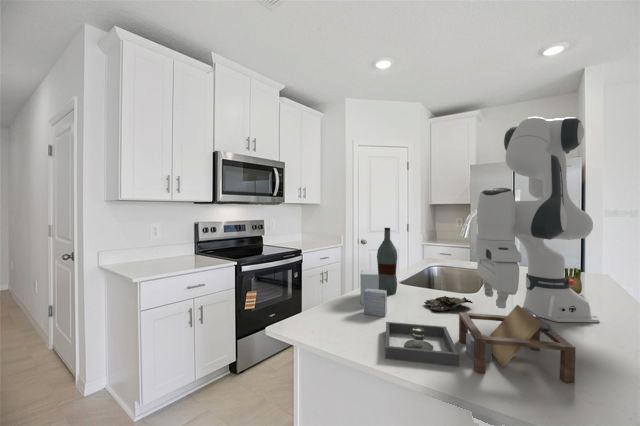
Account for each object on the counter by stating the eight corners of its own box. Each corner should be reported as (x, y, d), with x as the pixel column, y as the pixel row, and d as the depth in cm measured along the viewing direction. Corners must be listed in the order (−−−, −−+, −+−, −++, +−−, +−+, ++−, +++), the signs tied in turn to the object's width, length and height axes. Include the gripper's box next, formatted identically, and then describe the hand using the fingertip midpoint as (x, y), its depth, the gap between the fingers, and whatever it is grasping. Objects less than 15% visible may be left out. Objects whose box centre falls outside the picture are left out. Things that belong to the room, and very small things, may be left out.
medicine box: (386, 313, 114) (387, 290, 114) (385, 317, 110) (385, 293, 110) (365, 310, 117) (366, 288, 117) (363, 314, 113) (363, 291, 113)
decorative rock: (439, 305, 112) (414, 291, 126) (439, 321, 112) (415, 305, 127) (480, 297, 117) (452, 284, 131) (480, 312, 118) (452, 298, 132)
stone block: (485, 334, 84) (466, 332, 85) (491, 342, 79) (470, 340, 80) (485, 352, 84) (465, 350, 85) (491, 361, 79) (470, 359, 80)
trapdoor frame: (536, 347, 87) (536, 318, 87) (574, 384, 69) (575, 347, 69) (458, 339, 92) (459, 312, 91) (475, 372, 74) (476, 338, 73)
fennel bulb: (562, 292, 141) (563, 267, 141) (568, 291, 143) (569, 266, 143) (577, 296, 136) (578, 269, 135) (583, 294, 138) (584, 268, 137)
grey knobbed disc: (450, 352, 83) (450, 334, 83) (411, 359, 80) (411, 340, 80) (423, 334, 95) (423, 319, 95) (388, 339, 91) (388, 323, 91)
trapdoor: (530, 310, 85) (519, 302, 85) (555, 328, 72) (542, 319, 73) (494, 349, 87) (484, 341, 88) (513, 374, 74) (500, 364, 75)
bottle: (392, 289, 146) (392, 226, 145) (400, 294, 137) (401, 228, 136) (373, 290, 145) (374, 227, 144) (380, 295, 136) (381, 228, 135)
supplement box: (378, 300, 130) (378, 270, 130) (378, 305, 123) (378, 274, 122) (360, 299, 131) (361, 269, 131) (360, 304, 124) (360, 273, 124)
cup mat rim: (445, 336, 94) (445, 326, 94) (458, 366, 77) (458, 354, 76) (386, 330, 98) (386, 321, 98) (385, 358, 81) (385, 347, 80)
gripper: (471, 244, 91) (471, 289, 92) (494, 255, 71) (494, 314, 72) (494, 244, 90) (494, 290, 90) (525, 256, 70) (524, 316, 70)
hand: (494, 301), depth 81 cm, fingers open, 8 cm apart
